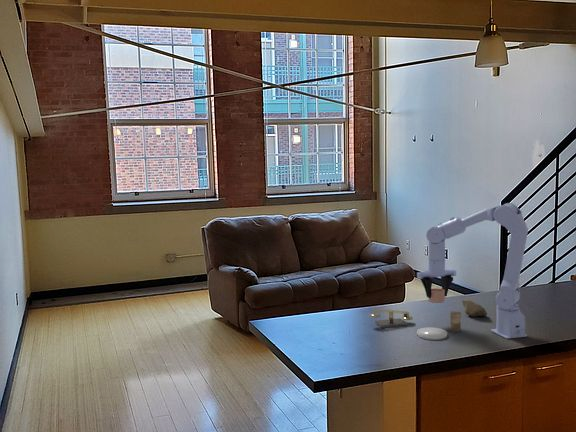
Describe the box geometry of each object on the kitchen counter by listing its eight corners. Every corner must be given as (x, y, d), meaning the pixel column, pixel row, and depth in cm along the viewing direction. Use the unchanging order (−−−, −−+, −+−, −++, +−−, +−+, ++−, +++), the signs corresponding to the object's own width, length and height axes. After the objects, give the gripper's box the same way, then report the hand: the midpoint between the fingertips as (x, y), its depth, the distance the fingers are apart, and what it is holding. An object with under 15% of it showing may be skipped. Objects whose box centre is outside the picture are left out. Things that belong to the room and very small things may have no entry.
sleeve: (447, 302, 210) (447, 291, 210) (433, 303, 209) (433, 292, 209) (439, 298, 216) (439, 287, 215) (425, 299, 215) (425, 289, 214)
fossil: (484, 304, 215) (460, 295, 222) (478, 314, 214) (454, 304, 221) (489, 316, 222) (466, 306, 228) (484, 325, 220) (460, 315, 227)
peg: (462, 331, 203) (462, 313, 202) (453, 332, 202) (453, 314, 202) (457, 329, 206) (457, 310, 206) (448, 329, 206) (448, 311, 205)
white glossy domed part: (452, 338, 196) (452, 334, 196) (425, 341, 194) (425, 337, 194) (438, 329, 206) (438, 326, 206) (411, 332, 204) (411, 329, 204)
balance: (416, 324, 213) (416, 307, 212) (372, 328, 209) (372, 311, 208) (408, 320, 219) (408, 303, 218) (366, 324, 215) (366, 307, 214)
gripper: (449, 256, 216) (449, 292, 218) (413, 259, 213) (413, 295, 215) (459, 259, 210) (459, 296, 211) (422, 262, 206) (422, 300, 208)
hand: (436, 296), depth 212 cm, fingers closed on sleeve, 6 cm apart
